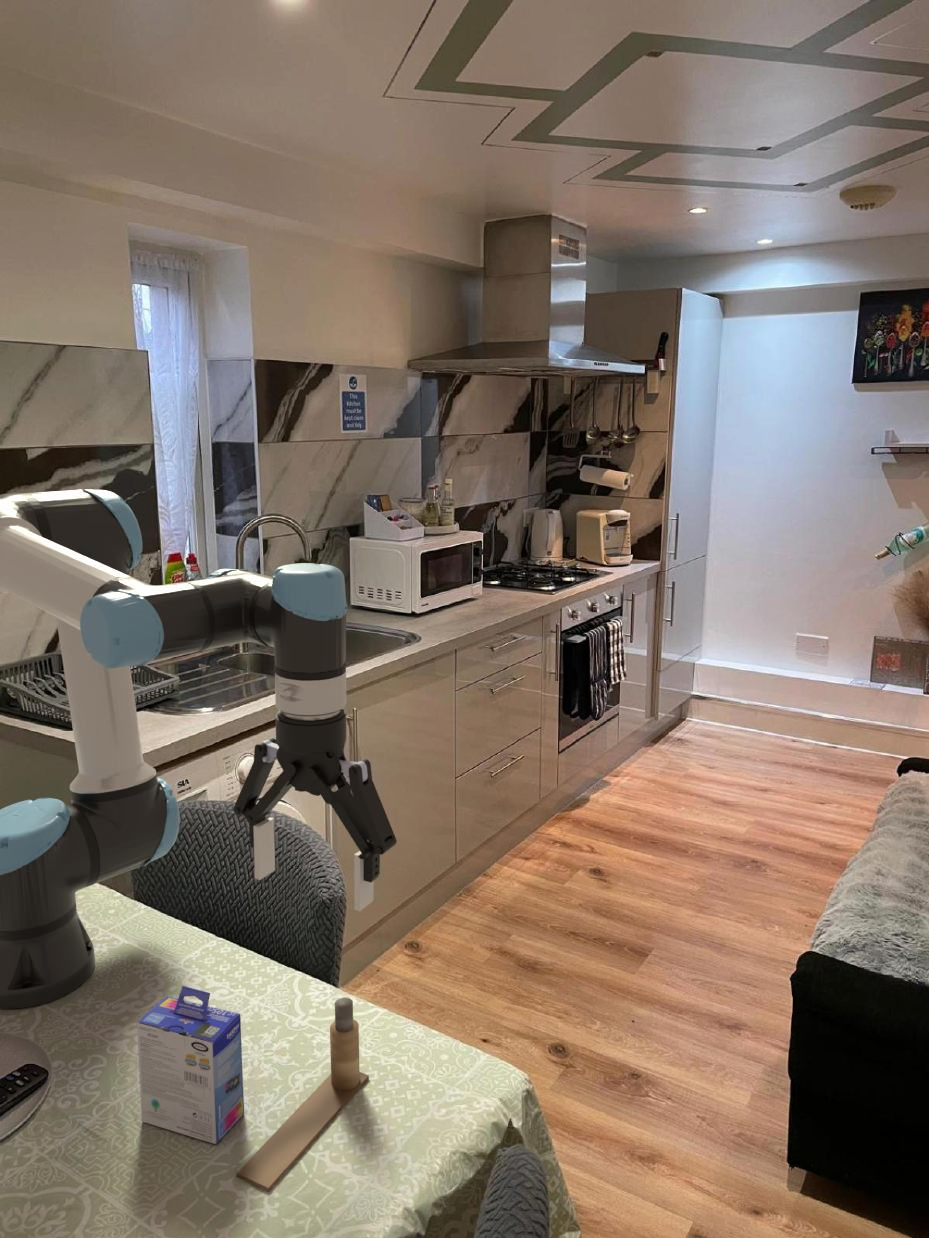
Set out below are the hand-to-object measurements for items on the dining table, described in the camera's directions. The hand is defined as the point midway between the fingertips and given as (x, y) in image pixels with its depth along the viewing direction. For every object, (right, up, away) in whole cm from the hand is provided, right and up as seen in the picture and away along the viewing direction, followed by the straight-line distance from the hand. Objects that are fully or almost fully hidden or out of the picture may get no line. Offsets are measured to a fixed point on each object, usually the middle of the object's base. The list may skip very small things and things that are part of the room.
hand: (313, 889), depth 104 cm
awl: (+3, -22, +1) cm, 23 cm away
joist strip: (0, -24, -5) cm, 24 cm away
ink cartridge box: (-12, -24, -4) cm, 27 cm away
